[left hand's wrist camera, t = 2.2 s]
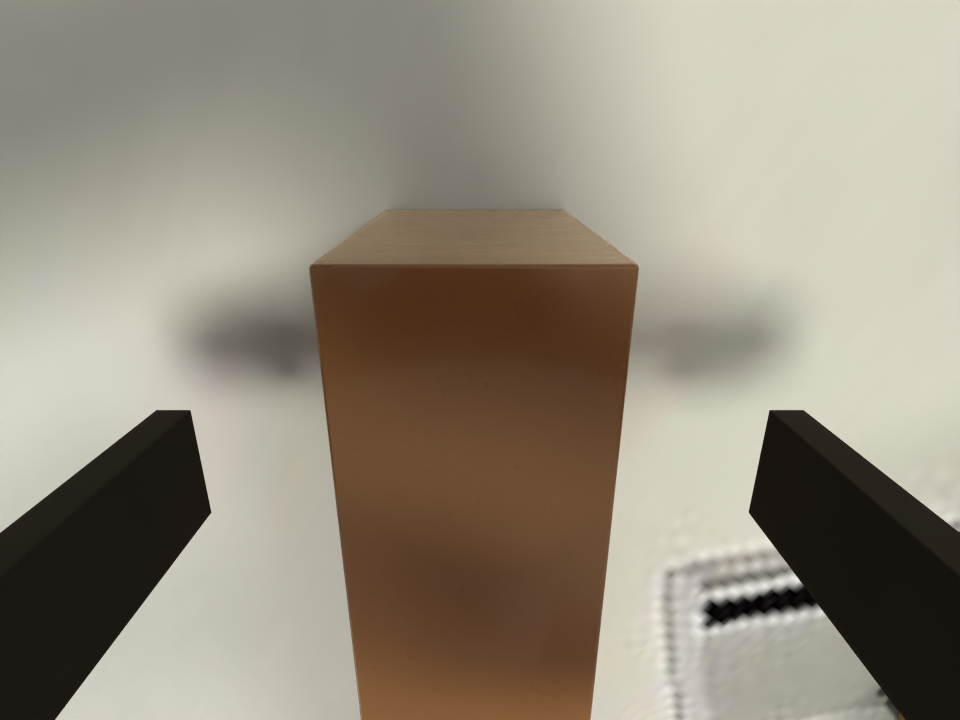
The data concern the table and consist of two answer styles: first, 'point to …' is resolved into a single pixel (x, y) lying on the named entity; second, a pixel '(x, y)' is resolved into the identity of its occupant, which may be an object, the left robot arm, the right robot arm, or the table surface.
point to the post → (474, 455)
